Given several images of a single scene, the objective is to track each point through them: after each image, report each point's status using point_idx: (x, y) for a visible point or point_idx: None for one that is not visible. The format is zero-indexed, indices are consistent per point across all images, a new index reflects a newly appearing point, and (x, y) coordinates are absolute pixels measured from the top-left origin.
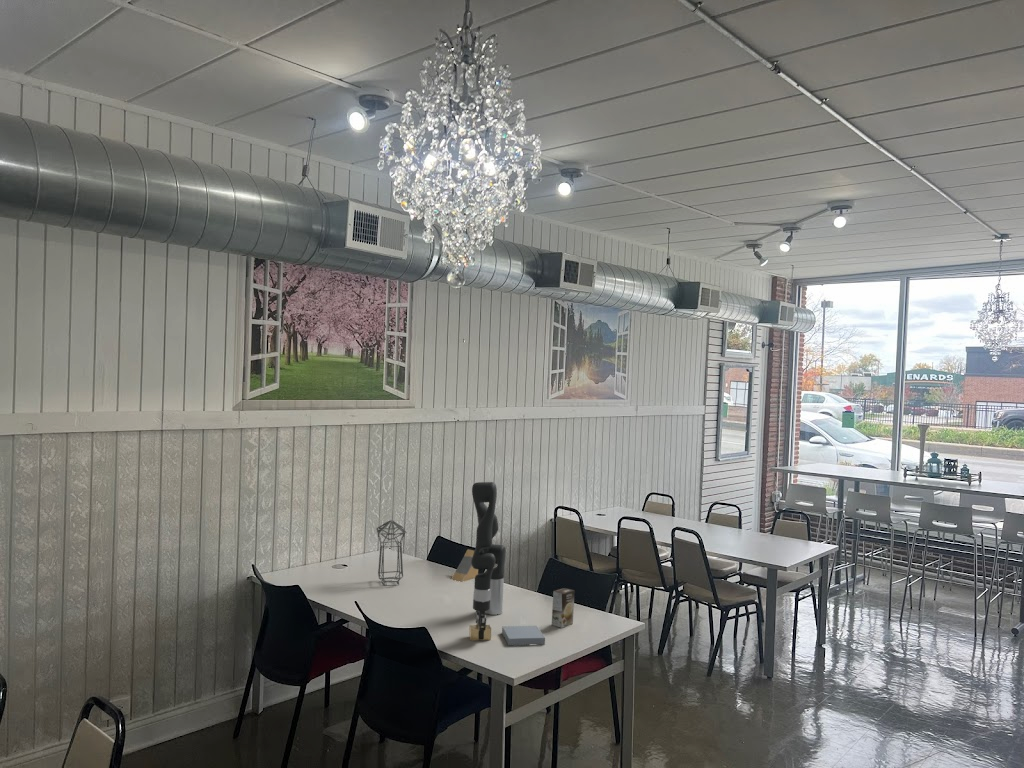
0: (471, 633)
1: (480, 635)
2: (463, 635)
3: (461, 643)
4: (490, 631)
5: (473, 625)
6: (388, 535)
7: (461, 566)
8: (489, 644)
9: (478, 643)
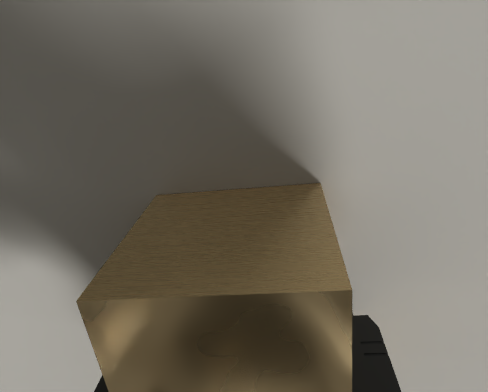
0: (120, 255)
1: None
2: (376, 98)
3: (6, 54)
4: None
5: (330, 365)
6: None
7: None
8: (65, 373)
9: (67, 277)
